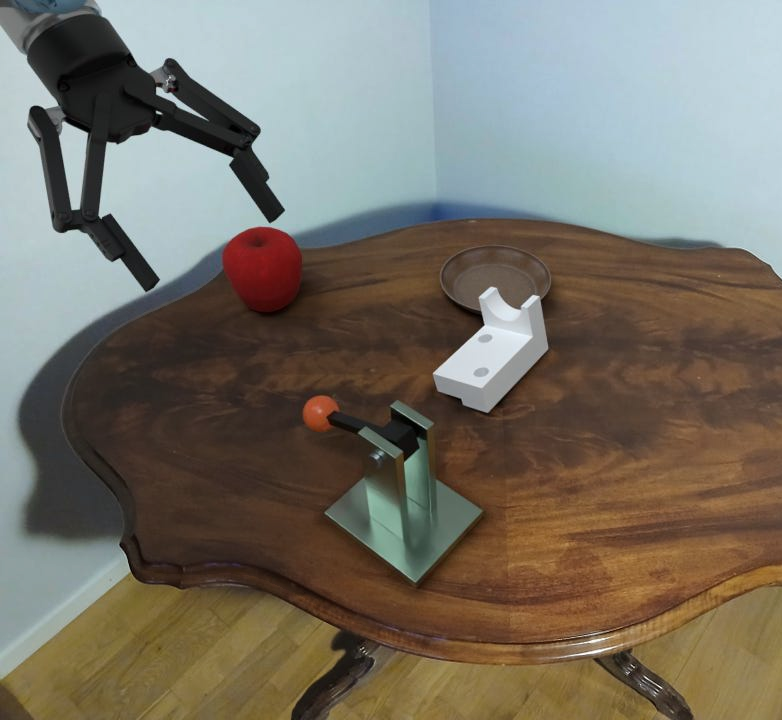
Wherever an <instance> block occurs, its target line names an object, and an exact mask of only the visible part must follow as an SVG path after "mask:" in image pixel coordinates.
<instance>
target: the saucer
mask: <svg viewBox="0 0 782 720" xmlns="http://www.w3.org/2000/svg"><path fill="white" fill-rule="evenodd" d="M439 284H440V286H441V288H442V290H443V291H444V293H445V295H447V296H448V298H450V299H451V300H452V301H453V302H454V303H456V304H457V305H458V306H460V307H462V308H463V309H465V310H466V311H468V312H470V313H471V312H472V313H473V314H477V315H480V316H482V311H481V307H480V302H479V297H480V296H481V295H482V294H483V293H484V292H485V291H486V290H488V289H489V288H490V287H495V288H497V290H498V292H499V295H500V296H501V298H502V299H503V300H504V302H505V303H507V304H508V305H509V306H510V307H512V308H514V309H517V310H521V306H522V305H523V304H524V303H525V302H526V301H527V300H528V299H529V298H530V297H531V296H532V295H535V296H540V301H541V300H542V299H544V297H545V296H546V295H547V294H548V293H549V291H550V288H551V286H552V276H551V272H550V269H549V268H548V266H547V265H546V264H545V263H544V262H543V261H542V260H541V259H540V258H539V257H537V256H536V255H534V254H533V253H530V252H528V251H527V250H524V249H521V248H519V247H514V246H509V245H502V244H484V245H478V246H477V245H476V246H472V247H471V246H470V247H469V248H465V249H463V250H460V251H458V252H456V253H454V254H453V255H452V256H450V257H449V258H448V259H447V260H446V261H445V262H444V263H443V265H442V267H441V268H440V272H439Z"/></svg>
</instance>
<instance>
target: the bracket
mask: <svg viewBox="0 0 782 720" xmlns="http://www.w3.org/2000/svg"><path fill="white" fill-rule="evenodd" d="M479 302H480V307H481V311H482V315H481V316H482V319H483V324H484V325H483V326H482V327H481V328H480V329H479V330H478V331H477V332H476V333H475V334H474V335H473V336H471V337H470V338H469V339H468V340H467V341H466V342H465V343H463V345H461V346H460V347H459V349H457V350H456V351H455V352H454V353H453V354H452V355H451V356H450V357H448V358H447V360H445V362H443V363H442V364H441V365H440V366H439V367H438V368H437V369H436V370H435V371H433V373H432V377H433V380H434V383H435V387H436V390H437V392H439V393H442V394H444V395H449V396H451V397H455V398H458V399H461V402H462V406H465V407H468V408H470V409H473V410H477V411H480V412H483V413H487V414H488V413H490V412H491V410H492V409H494V407H495V406H496V405H497V404H498V403H499V402H501V400H502V398H504V397H505V395H507V394H508V392H509V391H510V390H511V389H512V388H513V387H514V386H515V385H516V384H517V383H518V382H519V381H520V380H521V378H523V377H524V376H525V375H526V374H527V372H528V371H530V369H531V368H532V367H533V366H534V365H535V364H536V363H537V362H538V361H539V360H540V359H541V358H542V357H543V355H544V354H545V353H547V351H548V350H549V344H548V343H549V342H548V338H547V332H546V326H545V320H544V315H543V314H544V313H543V308H542V302H541V300H540V296H535V295H532V296H531V297H530V298H529V299H528V300H527V301H526V302H525V303H524V304H523V305H522V306H521V310H517V309H514V308H512V307H510V306H509V305H508V304H507V303H505V302H504V300H503V299H502V298H501V296H500V295H499V292H498V290H497V288H495V287H490V288H489V289H488V290H486V291H485V292H484V293H483V294H482V295H481V296H480V297H479Z"/></svg>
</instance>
